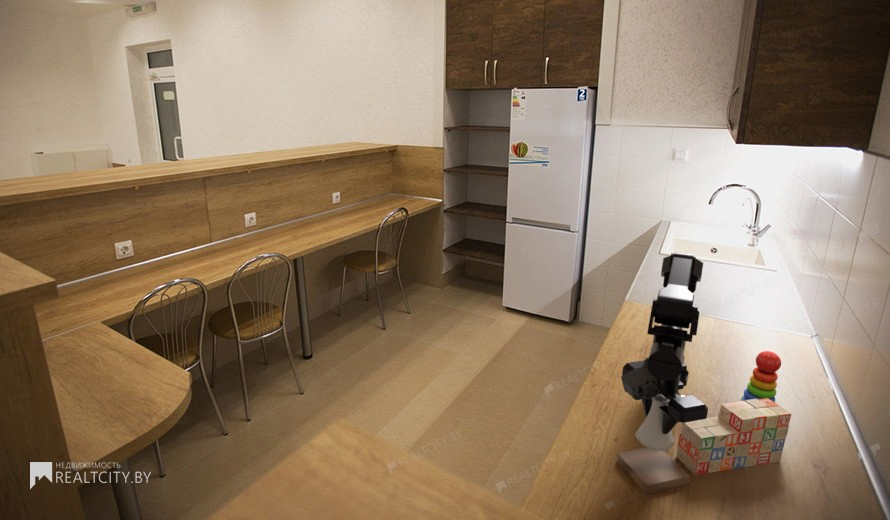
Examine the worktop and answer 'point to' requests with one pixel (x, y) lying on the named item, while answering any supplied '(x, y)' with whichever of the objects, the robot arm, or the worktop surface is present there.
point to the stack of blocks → (735, 437)
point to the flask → (655, 427)
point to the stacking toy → (763, 377)
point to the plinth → (652, 469)
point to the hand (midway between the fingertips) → (656, 425)
